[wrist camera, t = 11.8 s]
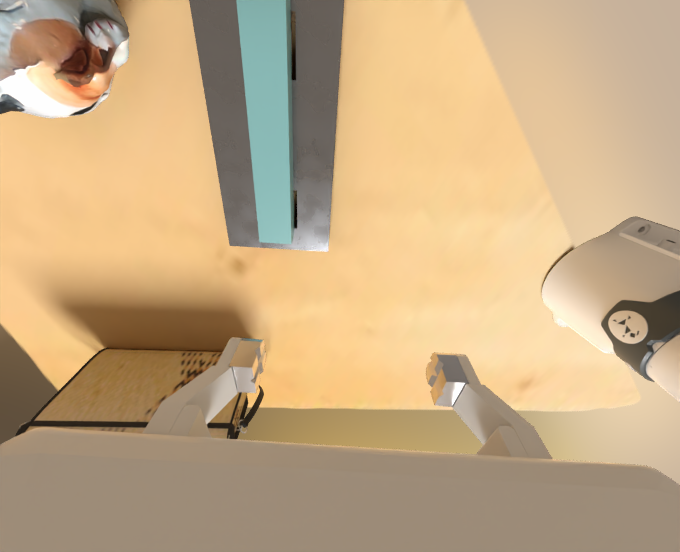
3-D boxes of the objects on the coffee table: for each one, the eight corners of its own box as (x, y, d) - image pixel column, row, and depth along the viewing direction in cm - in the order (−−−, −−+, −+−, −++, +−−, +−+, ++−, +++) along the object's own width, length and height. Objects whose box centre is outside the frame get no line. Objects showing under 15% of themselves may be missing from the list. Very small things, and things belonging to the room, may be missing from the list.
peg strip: (294, 8, 22) (285, -16, 18) (296, 227, 33) (291, 244, 28) (253, 3, 22) (234, -23, 18) (268, 225, 32) (259, 242, 28)
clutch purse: (110, 369, 47) (30, 462, 35) (94, 342, 44) (-4, 436, 31) (272, 372, 49) (252, 462, 36) (270, 347, 45) (245, 438, 33)
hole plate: (344, -18, 22) (346, -35, 19) (328, 241, 34) (328, 251, 32) (198, -37, 21) (179, -58, 18) (237, 235, 34) (229, 245, 31)
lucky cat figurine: (79, -138, 18) (10, -162, 11) (169, 70, 28) (165, 132, 21) (-215, -157, 15) (-592, -208, 8) (3, 85, 25) (-70, 163, 18)
